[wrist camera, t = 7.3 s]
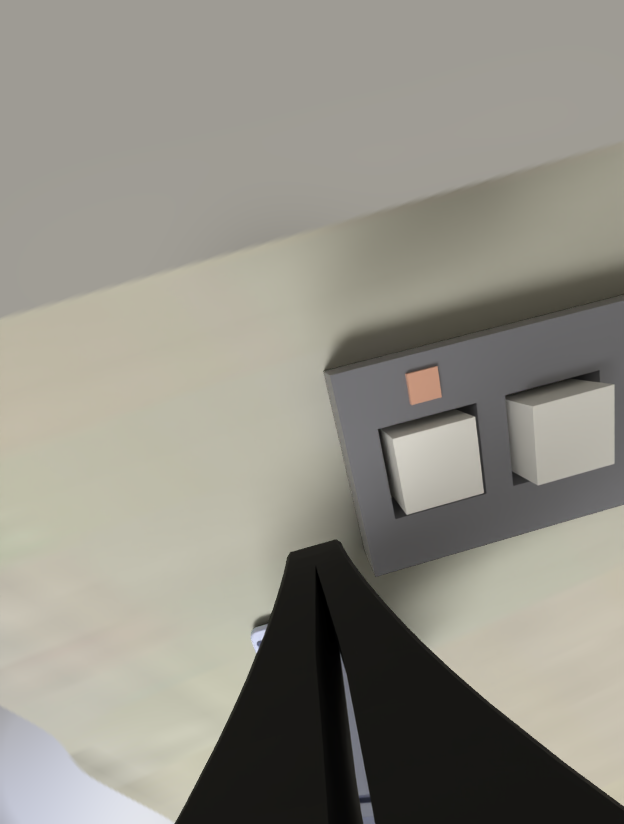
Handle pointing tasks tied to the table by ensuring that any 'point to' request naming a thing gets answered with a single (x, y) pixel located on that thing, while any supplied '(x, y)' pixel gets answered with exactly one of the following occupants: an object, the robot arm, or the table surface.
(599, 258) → the table surface
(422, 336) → the table surface
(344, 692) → the robot arm
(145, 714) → the table surface
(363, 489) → the keypad frame
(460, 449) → the key inner
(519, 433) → the key middle
